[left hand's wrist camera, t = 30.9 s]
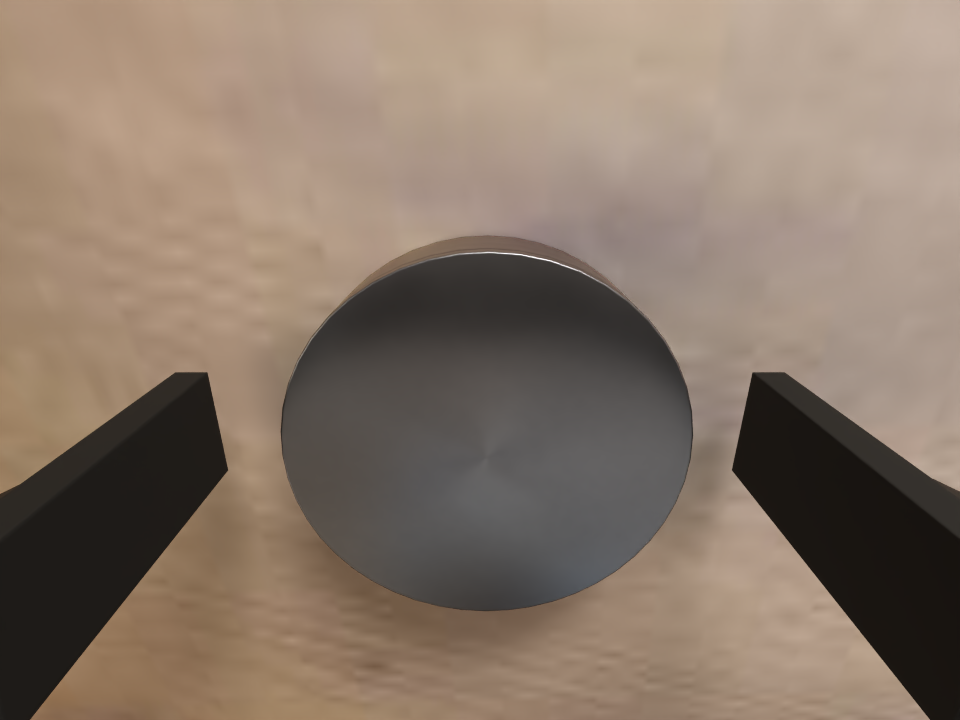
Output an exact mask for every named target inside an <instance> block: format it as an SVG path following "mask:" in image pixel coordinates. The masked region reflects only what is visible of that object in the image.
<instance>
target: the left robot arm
mask: <svg viewBox="0 0 960 720" xmlns="http://www.w3.org/2000/svg"><path fill="white" fill-rule="evenodd" d="M227 471H228V468H227V463H226V458H225V453H224V449H223V444H222V439H221V434H220V430H219V425H218V420H217V416H216V411H215V406H214V401H213V397H212V392H211V387H210V383H209V378H208V373H207V372H175V373H174V374H173V375H171V376H170V377H169V378H167V379H166V380H164V381H163V382H162V383H160V384H159V385H157V386H156V387H155V388H153V389H152V390H150V391H149V392H148V393H146V394H145V395H144V396H142V397H141V398H139V399H138V400H137V401H135V402H134V403H132V404H131V405H130V406H128V407H127V408H126V409H124V410H123V411H121V412H120V413H119V414H117V415H116V416H114V417H113V418H112V419H110V420H109V421H107V422H106V423H105V424H103V425H102V426H101V427H99V428H98V429H96V430H95V431H94V432H92V433H91V434H89V435H88V436H87V437H85V438H84V439H82V440H81V441H80V442H78V443H77V444H76V445H74V446H73V447H71V448H70V449H69V450H67V451H66V452H64V453H63V454H62V455H60V456H59V457H58V458H56V459H55V460H53V461H52V462H51V463H49V464H48V465H46V466H45V467H44V468H42V469H41V470H39V471H38V472H37V473H35V474H34V475H33V476H31V477H30V478H28V479H27V480H26V481H24V482H23V483H21V484H20V485H18V486H16V487H14V488H12V489H10V490H8V491H6V492H3V493H1V494H0V720H30V719H31V718H32V716H33V715H34V714H35V713H36V711H37V710H38V709H39V708H40V706H41V705H42V704H43V703H44V701H45V700H46V699H47V697H48V696H49V695H50V694H51V692H52V691H53V690H54V689H55V687H56V686H57V685H58V684H59V682H60V681H61V680H62V679H63V677H64V676H65V675H66V674H67V672H68V671H69V670H70V669H71V667H72V666H73V665H74V663H75V662H76V661H77V660H78V658H79V657H80V656H81V655H82V653H83V652H84V651H85V650H86V648H87V647H88V646H89V645H90V643H91V642H92V641H93V640H94V638H95V637H96V636H97V635H98V633H99V632H100V631H101V629H102V628H103V627H104V626H105V624H106V623H107V622H108V621H109V619H110V618H111V617H112V616H113V614H114V613H115V612H116V611H117V609H118V608H119V607H120V606H121V604H122V603H123V602H124V601H125V599H126V598H127V597H128V596H129V594H130V593H131V592H132V590H133V589H134V588H135V587H136V585H137V584H138V583H139V582H140V580H141V579H142V578H143V577H144V575H145V574H146V573H147V572H148V570H149V569H150V568H151V567H152V565H153V564H154V563H155V562H156V560H157V559H158V558H159V556H160V555H161V554H162V553H163V551H164V550H165V549H166V548H167V546H168V545H169V544H170V543H171V541H172V540H173V539H174V538H175V536H176V535H177V534H178V533H179V531H180V530H181V529H182V528H183V526H184V525H185V524H186V522H187V521H188V520H189V519H190V517H191V516H192V515H193V514H194V512H195V511H196V510H197V509H198V507H199V506H200V505H201V504H202V502H203V501H204V500H205V499H206V497H207V496H208V495H209V494H210V492H211V491H212V490H213V489H214V487H215V486H216V485H217V483H218V482H219V481H220V480H221V478H222V477H223V476H224V475H225V473H226V472H227ZM732 471H733V472H734V473H735V475H736V476H737V477H738V478H739V480H740V481H741V482H742V483H743V485H744V486H745V487H746V489H747V490H748V491H749V492H750V494H751V495H752V496H753V497H754V499H755V500H756V501H757V502H758V504H759V505H760V506H761V507H762V509H763V510H764V511H765V512H766V514H767V515H768V516H769V517H770V519H771V520H772V521H773V522H774V524H775V525H776V526H777V528H778V529H779V530H780V531H781V533H782V534H783V535H784V536H785V538H786V539H787V540H788V541H789V543H790V544H791V545H792V546H793V548H794V549H795V550H796V551H797V553H798V554H799V555H800V556H801V558H802V559H803V560H804V562H805V563H806V564H807V565H808V567H809V568H810V569H811V570H812V572H813V573H814V574H815V575H816V577H817V578H818V579H819V580H820V582H821V583H822V584H823V585H824V587H825V588H826V589H827V590H828V592H829V593H830V594H831V596H832V597H833V598H834V599H835V601H836V602H837V603H838V604H839V606H840V607H841V608H842V609H843V611H844V612H845V613H846V614H847V616H848V617H849V618H850V619H851V621H852V622H853V623H854V624H855V626H856V627H857V628H858V629H859V631H860V632H861V633H862V635H863V636H864V637H865V638H866V640H867V641H868V642H869V643H870V645H871V646H872V647H873V648H874V650H875V651H876V652H877V653H878V655H879V656H880V657H881V658H882V660H883V661H884V662H885V663H886V665H887V666H888V667H889V669H890V670H891V671H892V672H893V674H894V675H895V676H896V677H897V679H898V680H899V681H900V682H901V684H902V685H903V686H904V687H905V689H906V690H907V691H908V692H909V694H910V695H911V696H912V697H913V699H914V700H915V701H916V703H917V704H918V705H919V706H920V708H921V709H922V710H923V711H924V713H925V714H926V715H927V716H928V718H929V719H930V720H960V492H959V491H957V490H955V489H953V488H951V487H949V486H947V485H945V484H943V483H941V482H938V481H936V480H934V479H932V478H930V477H929V476H927V475H926V474H925V473H923V472H922V471H921V470H919V469H918V468H916V467H915V466H914V465H912V464H911V463H909V462H908V461H907V460H905V459H904V458H902V457H901V456H900V455H898V454H897V453H896V452H894V451H893V450H891V449H890V448H889V447H887V446H886V445H884V444H883V443H882V442H880V441H879V440H878V439H876V438H875V437H873V436H872V435H871V434H869V433H868V432H866V431H865V430H864V429H862V428H861V427H859V426H858V425H857V424H855V423H854V422H853V421H851V420H850V419H848V418H847V417H846V416H844V415H843V414H841V413H840V412H839V411H837V410H836V409H835V408H833V407H832V406H830V405H829V404H828V403H826V402H825V401H823V400H822V399H821V398H819V397H818V396H816V395H815V394H814V393H812V392H811V391H810V390H808V389H807V388H805V387H804V386H803V385H801V384H800V383H798V382H797V381H796V380H794V379H793V378H791V377H790V376H789V375H787V374H786V373H785V372H753V373H752V378H751V383H750V387H749V392H748V397H747V401H746V406H745V411H744V416H743V420H742V425H741V430H740V434H739V439H738V444H737V449H736V453H735V458H734V463H733V468H732Z"/></svg>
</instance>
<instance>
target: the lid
mask: <svg viewBox="0 0 960 720" xmlns="http://www.w3.org/2000/svg"><path fill="white" fill-rule="evenodd" d="M692 439H693V425H692V409H691V404H690V400H689V395H688V390H687V386H686V383H685V380H684V378H683V375H682V372H681V370H680V367H679V364H678V362H677V360H676V359H675V357H674V355H673V353H672V351H671V350H670V348H669V346H668V344H667V342H666V341H665V339H664V338H663V337H662V335H661V334H660V333H659V332H658V330H657V329H656V328H655V326H654V325H653V324H652V323H651V321H650V320H649V319H648V318H647V317H646V316H645V315H644V314H643V313H642V312H641V311H640V310H639V309H638V308H637V307H636V306H635V305H634V304H633V303H632V302H631V301H630V300H629V299H628V298H627V297H626V296H624V295H623V294H622V293H621V292H620V291H619V290H618V289H617V288H616V287H615V286H614V285H613V284H612V283H611V282H610V281H609V280H608V279H607V278H606V277H604V276H603V275H602V274H600V273H599V272H597V271H596V270H595V269H593V268H592V267H590V266H589V265H588V264H586V263H584V262H583V261H581V260H579V259H577V258H575V257H573V256H571V255H569V254H567V253H565V252H563V251H561V250H558V249H555V248H552V247H549V246H547V245H544V244H541V243H537V242H533V241H528V240H523V239H518V238H513V237H500V236H474V237H460V238H455V239H450V240H445V241H440V242H436V243H433V244H430V245H427V246H424V247H421V248H418V249H415V250H412V251H410V252H408V253H406V254H404V255H402V256H400V257H398V258H396V259H394V260H392V261H390V262H389V263H387V264H386V265H384V266H383V267H381V268H380V269H378V270H377V271H375V272H374V273H373V274H371V275H370V276H369V277H367V278H366V279H365V280H364V281H363V282H362V283H361V284H360V285H359V286H358V287H357V288H355V289H354V290H353V291H352V292H351V293H350V294H349V295H348V296H347V297H346V298H345V300H344V301H343V302H342V303H341V304H340V305H339V306H338V307H337V308H336V309H335V310H334V311H333V312H332V313H331V314H330V315H329V316H328V317H327V319H326V320H325V321H324V322H323V324H322V325H321V326H320V327H319V328H318V330H317V331H316V332H315V333H314V335H313V336H312V337H311V338H310V340H309V342H308V343H307V345H306V347H305V349H304V350H303V352H302V354H301V355H300V357H299V359H298V360H297V363H296V365H295V368H294V370H293V373H292V375H291V378H290V380H289V383H288V387H287V391H286V395H285V399H284V404H283V409H282V422H281V441H282V454H283V459H284V464H285V468H286V473H287V477H288V480H289V483H290V485H291V488H292V490H293V493H294V496H295V498H296V500H297V502H298V504H299V506H300V508H301V510H302V511H303V513H304V515H305V517H306V519H307V520H308V522H309V523H310V524H311V526H312V527H313V528H314V530H315V531H316V532H317V534H318V535H319V536H320V538H321V539H322V540H323V541H324V542H325V543H326V544H327V545H328V546H329V547H330V548H331V549H332V550H333V551H334V553H335V554H336V555H338V556H339V557H340V558H341V559H342V560H344V561H345V562H346V563H347V564H348V565H350V566H351V567H352V568H353V569H355V570H356V571H358V572H359V573H361V574H362V575H364V576H365V577H367V578H369V579H370V580H372V581H373V582H375V583H377V584H379V585H381V586H383V587H385V588H387V589H389V590H391V591H393V592H395V593H398V594H401V595H403V596H406V597H409V598H411V599H414V600H417V601H421V602H425V603H428V604H432V605H436V606H441V607H447V608H453V609H460V610H475V611H498V610H512V609H519V608H526V607H532V606H536V605H540V604H544V603H548V602H553V601H556V600H558V599H561V598H564V597H567V596H570V595H572V594H575V593H577V592H579V591H581V590H584V589H586V588H588V587H590V586H592V585H594V584H596V583H598V582H599V581H601V580H603V579H604V578H606V577H607V576H609V575H611V574H612V573H614V572H615V571H617V570H618V569H619V568H621V567H622V566H623V565H624V564H626V563H627V562H628V561H629V560H631V559H632V558H633V557H634V556H635V555H636V554H637V553H638V552H639V551H640V550H641V549H642V548H643V547H644V546H645V545H646V544H647V543H648V542H649V541H650V540H651V539H652V538H653V536H654V535H655V534H656V532H657V531H658V530H659V529H660V527H661V526H662V525H663V523H664V522H665V520H666V519H667V517H668V515H669V514H670V512H671V510H672V508H673V507H674V505H675V503H676V501H677V499H678V496H679V494H680V491H681V489H682V487H683V484H684V482H685V478H686V474H687V470H688V467H689V463H690V458H691V449H692Z"/></svg>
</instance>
